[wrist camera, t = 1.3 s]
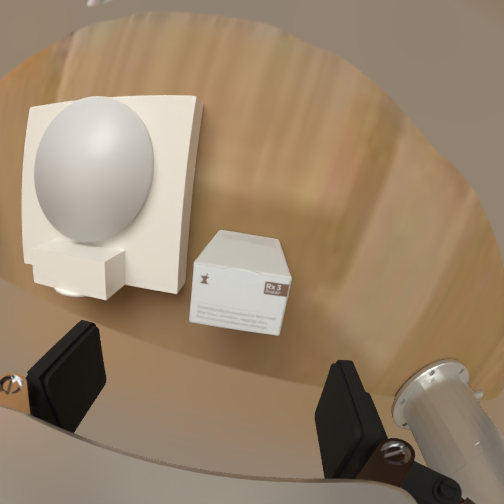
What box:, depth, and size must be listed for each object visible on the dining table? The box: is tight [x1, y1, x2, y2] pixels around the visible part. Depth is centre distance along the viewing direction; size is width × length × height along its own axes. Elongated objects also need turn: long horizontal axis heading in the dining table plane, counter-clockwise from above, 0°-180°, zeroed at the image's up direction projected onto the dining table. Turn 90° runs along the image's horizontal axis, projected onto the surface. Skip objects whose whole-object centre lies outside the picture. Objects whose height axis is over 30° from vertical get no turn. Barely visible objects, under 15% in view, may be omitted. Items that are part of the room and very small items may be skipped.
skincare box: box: [189, 230, 292, 336], centre depth 24 cm, size 6×4×12 cm
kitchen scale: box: [22, 95, 204, 300], centre depth 25 cm, size 20×18×8 cm
